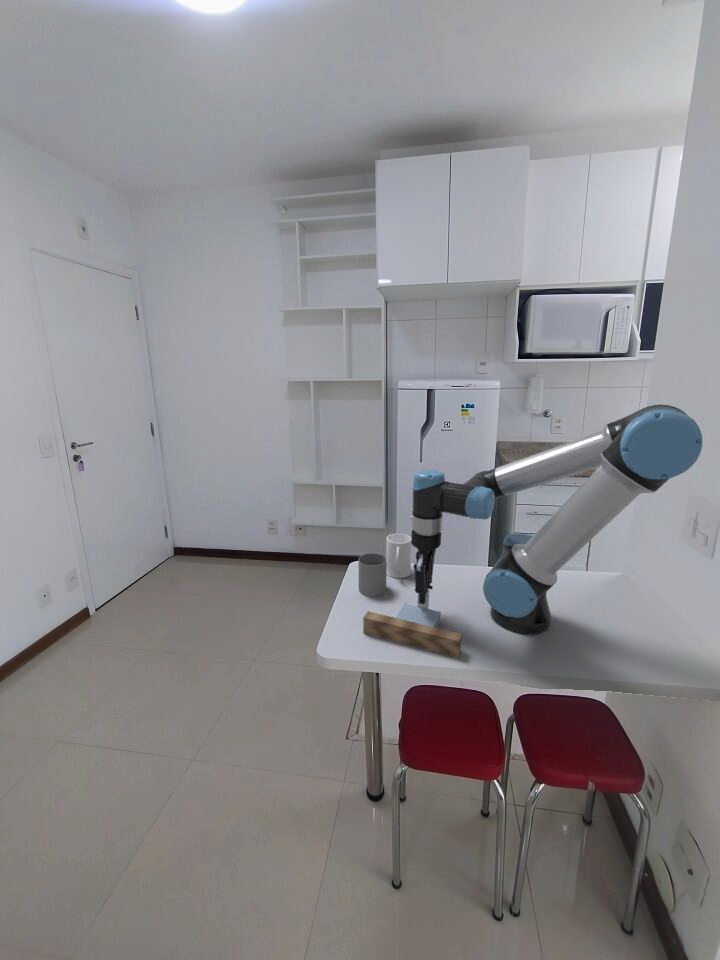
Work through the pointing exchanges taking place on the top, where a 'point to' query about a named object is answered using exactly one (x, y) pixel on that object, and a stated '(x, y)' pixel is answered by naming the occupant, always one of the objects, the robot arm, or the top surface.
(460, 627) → the top surface
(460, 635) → the brown wooden bar
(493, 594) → the robot arm
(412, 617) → the block
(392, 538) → the mug
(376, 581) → the cup
